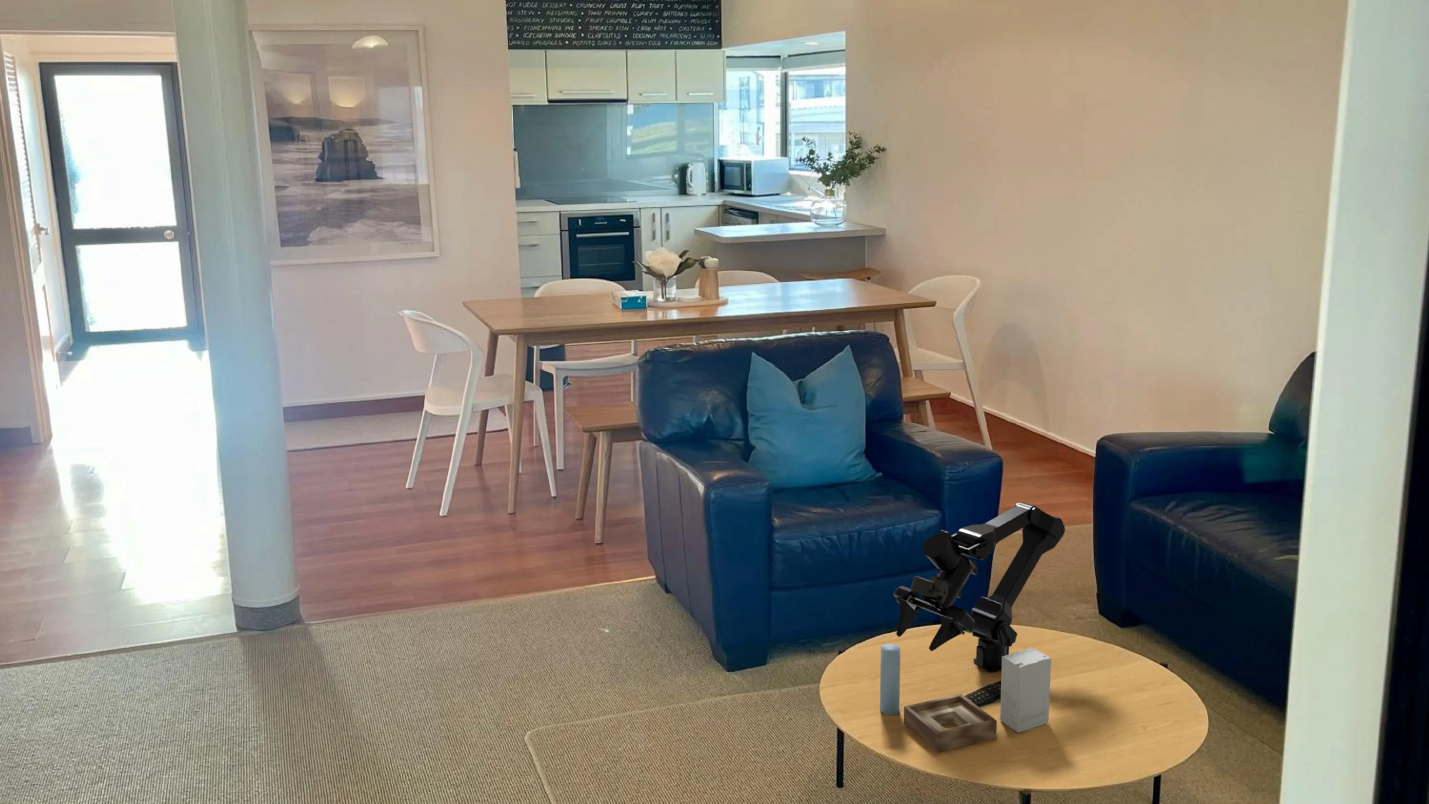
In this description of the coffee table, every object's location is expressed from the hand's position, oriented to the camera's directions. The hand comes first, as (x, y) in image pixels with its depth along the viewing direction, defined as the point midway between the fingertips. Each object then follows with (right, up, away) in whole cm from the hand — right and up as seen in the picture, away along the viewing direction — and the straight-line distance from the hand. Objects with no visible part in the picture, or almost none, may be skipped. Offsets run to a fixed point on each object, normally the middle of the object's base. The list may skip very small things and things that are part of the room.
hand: (913, 642), depth 247 cm
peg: (-5, -14, -1) cm, 15 cm away
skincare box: (+21, -15, -8) cm, 27 cm away
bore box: (+5, -16, -10) cm, 19 cm away
